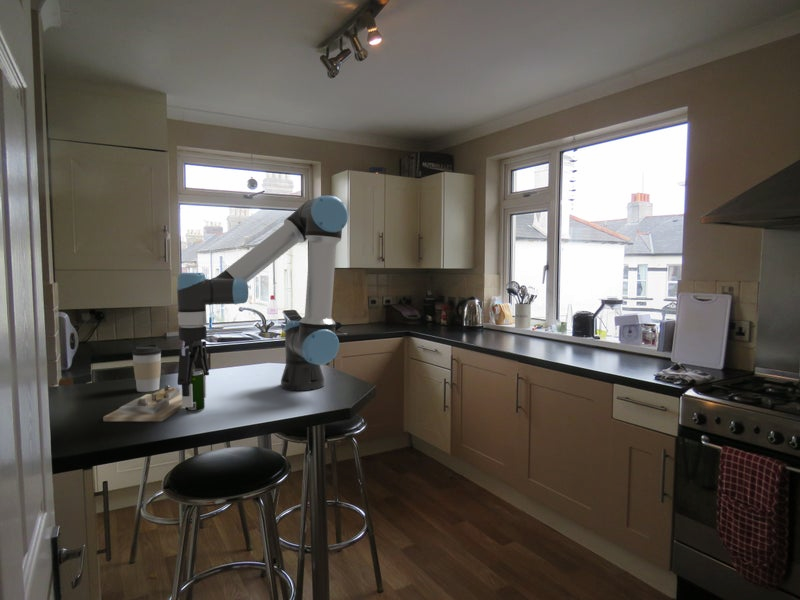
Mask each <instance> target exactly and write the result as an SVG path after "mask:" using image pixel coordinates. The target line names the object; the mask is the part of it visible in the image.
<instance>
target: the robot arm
mask: <svg viewBox="0 0 800 600" xmlns="http://www.w3.org/2000/svg"><path fill="white" fill-rule="evenodd" d="M348 220H349V213H348V209H347V206H346V205H345V204H344V202H343V201H342V199H340V198H339V197H336V196H335V195H320V196H318V197H316V198H312V199H309V200H307V201H305V202H304V203H302V204H300V206H299V207H298V208H297V209H296V210H295V211H294V212H293V213H292V214H290V215H289V216H288V217H287V218H285V219H284V220H283V224H282V226H280V227H278V228H277V229H276V230H275V231H274V232H272V233H271V234H269V235H268V236H267V237H266V238H265V239H263V240H262V241H261V242H259V243H258V244H257V245H256V246H254V247H253V248H252V249H250V250H249V251H247V253H245V254H243V255H242V256H241V257H240V258H239V259H237V260H236V261H234V262H233V263H232V264H231V265H230V266H228V267H227V268H225V269H224V270H223V271H222V272H221V273H220V274H218V275H217V276H215V277H212V278H211V279H210V278H206V275H205V273H204V272H181V273H179V274H178V275H177V279H176V280H177V281H176V282H177V283H176V284H177V286H176V294H177V295H176V297H177V313H178V314H177V315H176V318H177V319H178V321H177V322H178V326H179V327H178V340H179V341H182V342H184V345H183V348H179V349H178V354H179V356H178V357H179V359H178V370H177V385H179V386H181V394H182V407H183V408H185V407H193V392H192V384H191V378H192V372H193V369H203V372H204V399H205V398H207V376H209V375H210V369H209V362H208V353H207V342H206V341H205V340H206V339H207V336H208V335H207V326H206V324H207V307H206V306H210V305H211V306H213V305H238V304H239V305H240V304H246V303H247V302H248V299H249V285H248V283H249V282H250V281H251V280H252V279H254V278H255V277H256V276H257V275H259V274H260V273H262V272H263V271H264V270H265V269H267V268H268V267H269V266H270V265H271V264H273V263H274V262H275V261H277V260H278V259H279V258H280V257H282V256H283V255H284V254H286V253H287V252H288V251H289V250H290V249H291V248H293V247H294V246H296V245H297V244H298V243H301V244H303V243H304V242H305V241H306V240H307V241H308V243H309V247H308V259H307V260H308V262H307V276H306V289H305V290H306V293H305V306H304V316H303V317H302V318H301V319H300V320H299V321H298V320H297V321H296V320H295V321H287V322H286V324H285V325H284V326H285V327H284V335H285V337H284V340H285V341H284V342H285V343H284V346H285V366H284V369H283V373H282V376H281V379H280V387H281V389H284V390H286V389H287V391H295V390H297V391H299V392H300V391H303V392H304V391H312V390H311V389H313V390H318V389H320V387H321V388H322V386H323V387H325V385H324V384H325V383H326V382H325V381H326V380H325V376H324V373H323V370H322V367H321V365H326V364H328V363H330V362H331V361H333V360H334V359H335V358H336V356H338V355H337V354H338V352H339V350H340V341H339V338H338V336H337V335H336V322H335V320H334V319H333V318H332V311H333V310H332V309H333V298H334V297H333V295H334V283H335V281H334V280H335V266H336V256H337V255H336V253H337V251H336V250H337V245H338V244H339V242H341V241H342V234H343V232H342V231H343V229H344V227H346V225H347V223H348ZM194 367H195V368H194ZM317 388H318V389H317ZM297 391H296V392H297Z"/></svg>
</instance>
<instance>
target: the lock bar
mask: <svg viewBox="0 0 800 600" xmlns="http://www.w3.org/2000/svg"><path fill="white" fill-rule="evenodd" d="M163 388H164V389H163ZM163 388H162V389H163V390H162V391H160V392H158V393H156V401H157V399H158V398H166V397H165V394H167V393H169V392H170V391H172V390H174V389H176V386H171V385H170V384H167V385H164V387H163Z"/></svg>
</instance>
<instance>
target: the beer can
mask: <svg viewBox="0 0 800 600" xmlns="http://www.w3.org/2000/svg"><path fill="white" fill-rule="evenodd" d="M191 384H192V392H193V407H184V411H186V413H188V414H195V413H197V414H198V413H201V412H204V410H205V406H206V403H205V401H206V400H205V398H204V372H203V369H196V368H193V372H192V378H191Z"/></svg>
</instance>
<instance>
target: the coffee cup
mask: <svg viewBox="0 0 800 600" xmlns="http://www.w3.org/2000/svg"><path fill="white" fill-rule="evenodd" d="M161 353H162V348H159V347H158V345H156V344H149V345H141V346H136V347H135V348H134V350H132V353H131V355H132V359H133V361H132V365H133V372H134V373H133V374H134V379H135V383H136V385H135V386H136V391H137V392H141V393H147V392H149V393H150V392H156V391H159V390H160V380H161V373H162V371H161V367H162V359H161V358H162V357H161V356H162V354H161Z"/></svg>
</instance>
